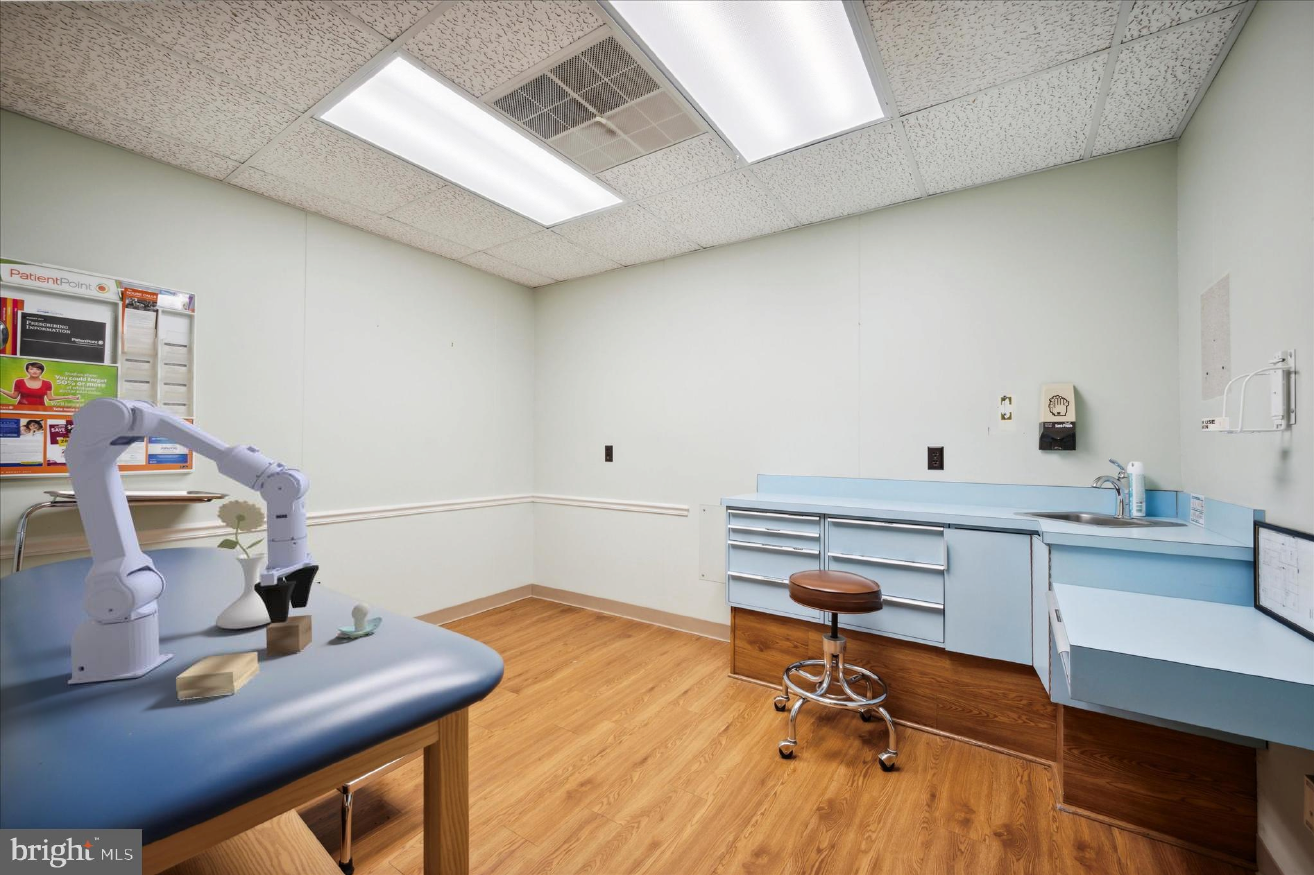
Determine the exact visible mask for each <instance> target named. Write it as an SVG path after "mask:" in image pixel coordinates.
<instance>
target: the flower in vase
mask: <svg viewBox="0 0 1314 875" xmlns="http://www.w3.org/2000/svg"><path fill="white" fill-rule="evenodd" d="M217 512H218V514H217V515H216V516H217V518H218V519H220V520H221V521H220V522H222V523H223V524H225V526H226V527H228V528H230V529H232V530H236V531H235V537H234V538H235V540H233V539H231V538H230V539H229V538H224V539H222V541H221V542H220V543H218V545H217V546H216V548H218V549H219V548H221V549H228V550H235V549H236V548H237V547H238V546H239V548H240V549H241V550H242V551H243V553H244V554H239V555H236V556H235V557H234V558H235V559H236V561H237V562H238V563H239V564H240V566H241V567H242V572H243V576H244V590H243V592H242V594H241V595H240V596H239V597H238V598H237V599H236V600H235V601H234V602H232V603H231V604H230V605H229V606H227V607H226V608H225V609H223V611H222V612H221V613H220V614H219V615H218V616H217V618H216V621H215V624H216V625H217V626H218V627H219V628H222V629H223V628H224V629H231V630H239V629H240V630H241V629H247V628H253V627H254V628H255V627H257V626H258V627H259V626H262V625H266V624H269V623H271V620H270V618H269V615H268V612H267V609H266V607H265V604H264V602H263V601H262V599H261V597H260V596H259V595H258V594H257V593H256V591H255V590H254V585H255V584H256V583H258V582H260V581H259V580H260V579H259V578H260V569H261V564H262V562H263V560H264V558H265V557H266V556H267V555H268V552H267V553H266V552H251V553H249V552H248V551H247V550H249V549H251V548H253V547H255V546H257V545H258V544H260V543H261V542H262V541H263V540H265V538H266V536H264V537H263V538H261V539H259V540H256V541H254V542H252V543H251V544H250V545H248V546H247V547H246V548H244V546H243V545H242V544H241V542H240V541H239V538H238V537H239V536H238V533H239V530H240V531H241V532H251V531H252V530H258V528H262V527H263V526H264V524H263V523H265V520H266V516H265V512H263V511H262V508H261V507H260V506H257V504H255V503H249V501H248V500H242V501H240V500H239V499H234V501H233V500H229V501H228V502H226V503H222V505H220V506H219V507H218V511H217Z"/></svg>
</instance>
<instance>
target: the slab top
mask: <svg viewBox="0 0 1314 875" xmlns="http://www.w3.org/2000/svg"><path fill="white" fill-rule="evenodd" d="M258 659H259V658H258V652H257V651H254V652H253V651H252V652H241V653H234V654H233V653H231V654H223V655H221V654H220V655H212V656H211V655H210V656H205V657H203V658H202V659H200V660H199V661H197V662H196V663H195V664H193V665H192V666H190V667H189V668H188V669H186V670H184V671H183V672H182V673H180V674H179V675H178V676H176V677H175V685H176V686H175V688H176V689H175V691H176V692H178V691H185V690H194V689H203V688H212V687H221V686H229V685H234V684H235V683H236V682H237V681H239V680H240V679H241V678H242V677H243V676H245V675H246V674H247V673H248V672H249V671H250V670H252V669H253V668H254V667H255V666H256V665H257V664H258Z"/></svg>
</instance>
